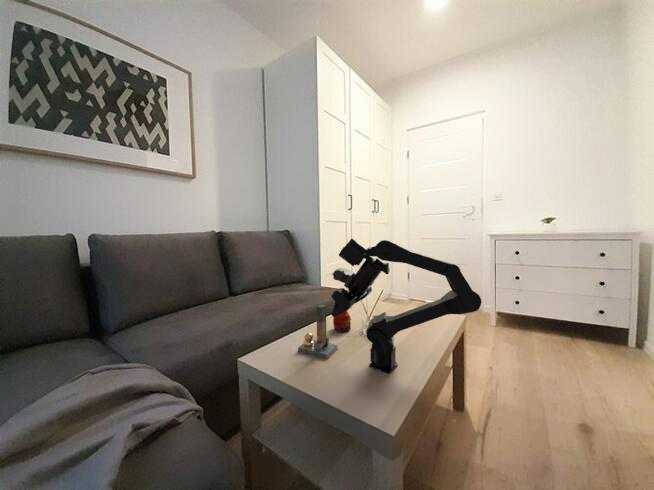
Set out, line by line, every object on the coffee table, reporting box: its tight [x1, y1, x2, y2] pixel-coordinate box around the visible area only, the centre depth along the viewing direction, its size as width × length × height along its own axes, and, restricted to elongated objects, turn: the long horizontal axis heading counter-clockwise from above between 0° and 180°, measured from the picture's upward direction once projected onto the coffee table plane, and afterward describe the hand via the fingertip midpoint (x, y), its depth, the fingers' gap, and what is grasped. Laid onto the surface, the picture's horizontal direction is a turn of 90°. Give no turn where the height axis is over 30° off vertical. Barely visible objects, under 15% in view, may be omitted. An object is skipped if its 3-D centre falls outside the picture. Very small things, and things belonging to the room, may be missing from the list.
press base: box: [297, 332, 338, 360], centre depth 85 cm, size 11×8×5 cm
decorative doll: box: [332, 310, 352, 333], centre depth 103 cm, size 8×7×15 cm
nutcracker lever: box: [316, 304, 327, 347], centre depth 84 cm, size 2×3×14 cm, turn 152°
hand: (339, 311), depth 81 cm, fingers open, 9 cm apart
